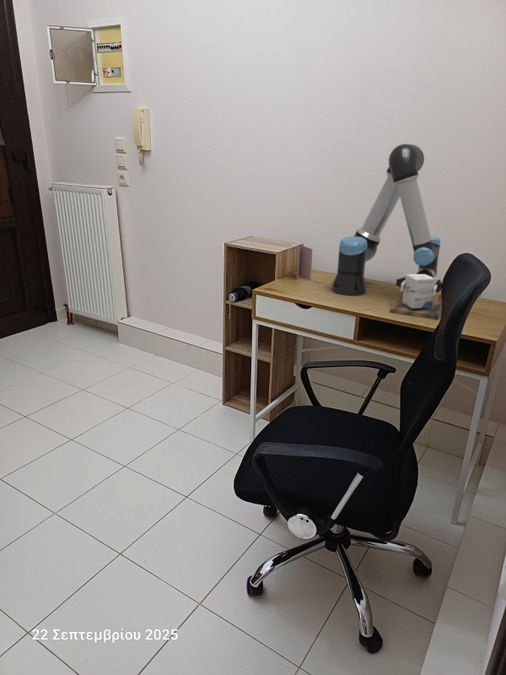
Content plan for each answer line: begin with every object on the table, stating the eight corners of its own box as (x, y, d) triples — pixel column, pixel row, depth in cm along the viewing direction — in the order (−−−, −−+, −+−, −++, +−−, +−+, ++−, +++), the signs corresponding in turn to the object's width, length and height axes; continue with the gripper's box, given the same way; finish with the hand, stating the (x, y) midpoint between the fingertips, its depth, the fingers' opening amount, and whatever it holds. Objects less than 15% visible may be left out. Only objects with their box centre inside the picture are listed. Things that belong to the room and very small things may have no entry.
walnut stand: (389, 312, 190) (391, 297, 188) (395, 303, 202) (397, 289, 200) (437, 319, 183) (440, 304, 181) (441, 309, 195) (443, 295, 193)
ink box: (421, 301, 196) (425, 273, 192) (431, 307, 189) (436, 278, 184) (401, 302, 195) (405, 273, 191) (411, 308, 187) (415, 278, 183)
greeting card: (297, 274, 245) (299, 245, 240) (312, 275, 244) (314, 245, 238) (294, 280, 234) (296, 249, 229) (310, 281, 233) (312, 250, 228)
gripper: (452, 290, 201) (448, 303, 183) (394, 283, 210) (385, 295, 192) (455, 272, 199) (452, 284, 180) (396, 266, 208) (387, 276, 189)
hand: (417, 290), depth 186 cm, fingers closed on ink box, 11 cm apart
